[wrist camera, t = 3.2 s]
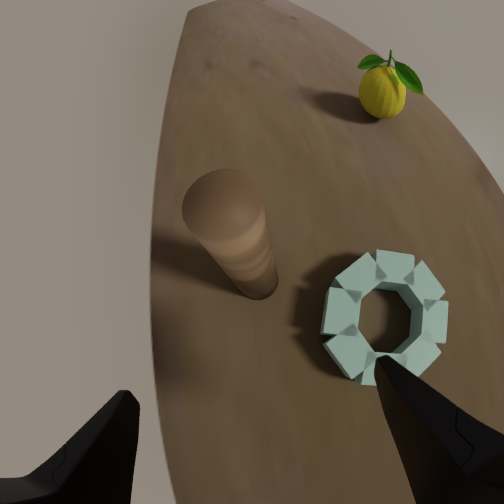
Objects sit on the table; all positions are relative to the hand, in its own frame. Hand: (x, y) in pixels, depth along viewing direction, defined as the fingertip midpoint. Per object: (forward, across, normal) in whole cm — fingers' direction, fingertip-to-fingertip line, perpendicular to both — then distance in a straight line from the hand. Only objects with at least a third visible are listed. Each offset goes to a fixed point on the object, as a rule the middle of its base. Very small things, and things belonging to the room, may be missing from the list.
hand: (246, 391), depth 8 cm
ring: (+10, -10, +8) cm, 16 cm away
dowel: (+14, 0, +4) cm, 15 cm away
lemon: (+27, -18, -8) cm, 33 cm away
